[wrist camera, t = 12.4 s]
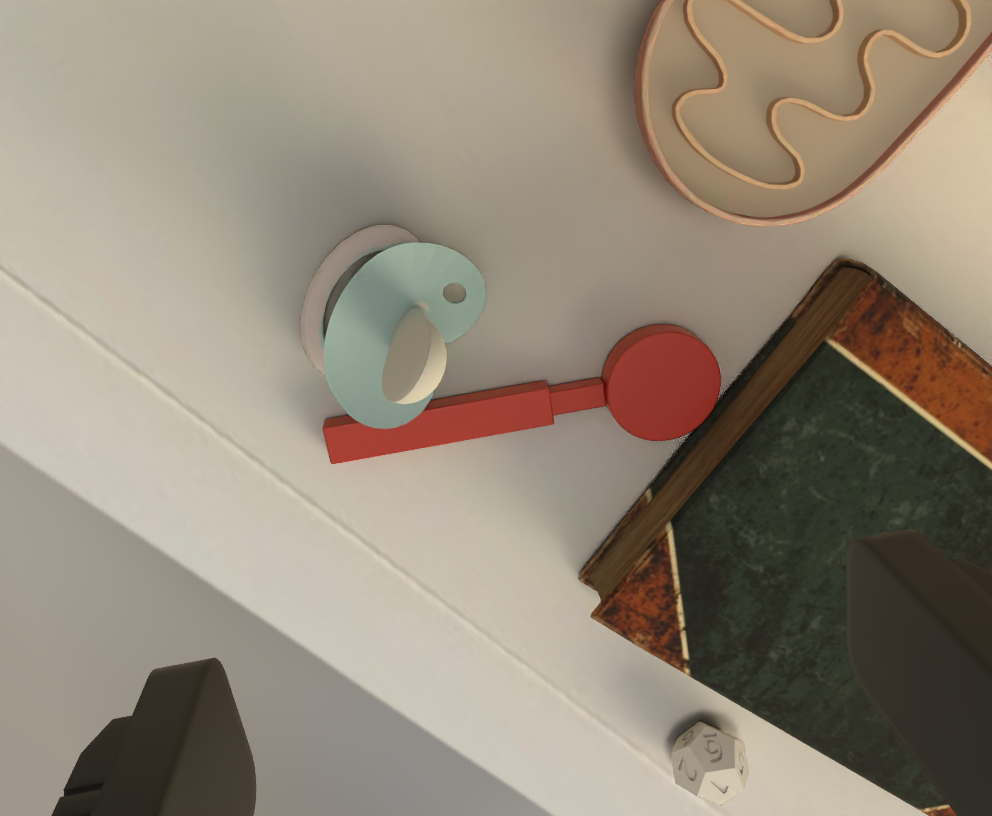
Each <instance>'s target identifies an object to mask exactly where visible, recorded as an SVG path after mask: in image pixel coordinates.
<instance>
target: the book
mask: <svg viewBox="0 0 992 816" xmlns="http://www.w3.org/2000/svg"><path fill="white" fill-rule="evenodd" d="M907 529H914V530H916V531H918V532H919V533H920V534H922V535H923V536H924V537H925V538H926V539H927V540H928V541H930V542H931V543H932V544H933V545H934V546H935V547H936V548H937V549H939V550H940V551H941V552H942V553H943V554H944V555H945V556H946V557H948V558H949V559H950V560H951V561H952V562H956V561H961V560H967V561H970V562H972V563H974V564H976V565H978V566H981V567H983V568H985V569H987V570H990V571H992V366H991V365H990V364H988V363H987V362H986V361H985V360H983V359H982V358H981V357H980V356H979V355H977V354H976V353H975V352H974V351H972V350H971V349H970V348H969V347H968V346H966V345H965V344H964V343H963V342H961V341H960V340H959V339H958V338H957V337H955V336H954V335H953V334H952V333H950V332H949V331H948V330H947V329H945V328H944V327H943V326H942V325H941V324H939V323H938V322H937V321H936V320H934V319H933V318H932V317H931V316H930V315H928V314H927V313H926V312H925V311H923V310H922V309H921V308H920V307H919V306H917V305H916V304H915V303H914V302H913V301H911V300H910V299H909V298H908V297H906V296H905V295H904V294H903V293H902V292H900V291H899V290H898V289H897V288H895V287H894V286H893V285H892V284H891V283H889V282H888V281H887V280H886V279H885V278H883V277H882V276H881V275H880V274H878V273H877V272H876V271H874V270H873V269H871V268H870V267H868V266H867V265H865V264H864V263H862V262H859V261H855V260H852V259H839V260H837V261H835V262H834V263H833V265H832V266H831V267H830V268H829V270H828V271H827V272H826V273H825V274H824V275H823V276H822V277H821V278H820V280H819V281H818V282H817V284H816V285H815V286H814V288H813V289H812V290H811V292H810V293H809V294H808V295H807V297H806V298H805V299H804V301H803V302H802V303H801V305H800V306H799V307H798V308H797V310H796V311H795V312H794V313H793V314H792V316H791V317H790V318H789V319H788V320H787V322H786V323H785V324H784V325H783V326H782V328H781V329H780V330H779V331H778V332H777V334H776V335H775V336H774V337H773V338H772V340H771V341H770V342H769V343H768V344H767V346H766V347H765V348H764V349H763V350H762V352H761V353H760V354H759V355H758V356H757V358H756V359H755V360H754V361H753V362H752V364H751V365H750V366H749V367H748V368H747V370H746V371H745V372H744V373H743V374H742V376H741V377H740V378H739V379H738V380H737V382H736V383H735V384H734V385H733V386H732V387H731V389H730V390H729V391H728V392H727V393H726V395H725V396H724V397H723V398H722V399H721V401H720V402H719V403H718V404H717V405H716V407H715V408H714V409H713V410H712V411H711V413H710V414H709V416H708V417H707V418H706V419H705V420H704V421H703V422H702V423H701V424H700V426H699V427H698V428H697V429H696V430H695V432H694V433H693V434H692V435H691V437H690V438H689V439H688V440H687V442H686V443H685V444H684V445H683V447H682V448H681V449H680V450H679V452H678V453H677V454H676V455H675V456H674V458H673V459H672V460H671V461H670V463H669V464H668V465H667V466H666V468H665V469H664V470H663V471H662V473H661V474H660V475H659V476H658V478H657V479H656V480H655V481H654V483H653V484H652V485H651V486H650V488H649V489H648V490H647V491H646V493H645V494H644V495H643V496H642V498H641V499H640V500H639V501H638V503H637V504H636V505H635V506H634V508H633V509H632V510H631V511H630V513H629V514H628V515H627V516H626V518H625V519H624V520H623V521H622V523H621V524H620V525H619V526H618V528H617V529H616V530H615V531H614V533H613V534H612V535H611V536H610V538H609V539H608V540H607V541H606V543H605V544H604V545H603V546H602V548H601V549H600V550H599V551H598V552H597V554H596V555H595V556H594V557H593V558H592V560H591V561H590V562H589V563H588V565H587V566H586V567H585V568H584V569H583V571H582V572H581V573H580V575H579V578H578V579H579V580H580V581H581V582H582V583H584V584H586V585H587V586H589V587H591V588H592V589H594V590H596V591H598V593H599V596H600V598H601V603H600V604H599V605H598V606H597V607H596V609H595V610H594V611H593V612H592V614H591V618H592V619H594V620H596V621H598V622H599V623H601V624H603V625H604V626H606V627H607V628H609V629H611V630H612V631H614V632H616V633H617V634H619V635H620V636H622V637H624V638H625V639H627V640H629V641H630V642H632V643H633V644H635V645H637V646H638V647H640V648H642V649H644V650H645V651H647V652H649V653H650V654H652V655H654V656H656V657H657V658H659V659H661V660H662V661H664V662H666V663H668V664H669V665H671V666H673V667H674V668H676V669H678V670H680V671H681V672H683V673H685V674H687V675H688V676H690V677H692V678H693V679H695V680H697V681H699V682H700V683H702V684H704V685H705V686H707V687H709V688H711V689H712V690H714V691H716V692H717V693H719V694H721V695H723V696H724V697H726V698H728V699H729V700H731V701H733V702H735V703H736V704H738V705H740V706H741V707H743V708H745V709H747V710H748V711H750V712H752V713H753V714H755V715H757V716H759V717H760V718H762V719H764V720H765V721H767V722H769V723H771V724H772V725H774V726H776V727H777V728H779V729H781V730H783V731H784V732H786V733H788V734H790V735H791V736H793V737H795V738H796V739H798V740H800V741H802V742H803V743H805V744H807V745H808V746H810V747H812V748H814V749H815V750H817V751H819V752H820V753H822V754H824V755H826V756H827V757H829V758H831V759H832V760H834V761H836V762H838V763H839V764H841V765H843V766H845V767H846V768H848V769H850V770H851V771H853V772H855V773H857V774H858V775H860V776H862V777H863V778H865V779H867V780H869V781H870V782H872V783H874V784H875V785H877V786H879V787H881V788H882V789H884V790H886V791H888V792H889V793H891V794H893V795H894V796H896V797H898V798H900V799H901V800H903V801H905V802H906V803H908V804H910V805H912V806H913V807H915V808H917V809H918V810H920V811H922V812H924V813H925V814H927V815H929V816H957V815H956V814H955V813H954V811H953V810H952V809H951V807H950V806H949V805H948V803H947V802H946V801H945V799H944V798H943V797H942V795H941V794H940V793H939V791H938V790H937V789H936V787H935V786H934V785H933V783H932V782H931V780H930V779H929V778H928V776H927V775H926V774H925V772H924V771H923V770H922V768H921V767H920V766H919V764H918V763H917V762H916V760H915V759H914V758H913V756H912V755H911V754H910V752H909V751H908V750H907V748H906V747H905V746H904V744H903V743H902V742H901V740H900V739H899V737H898V736H897V735H896V733H895V732H894V731H893V729H892V728H891V727H890V725H889V724H888V723H887V721H886V720H885V719H884V717H883V716H882V715H881V713H880V712H879V711H878V709H877V708H876V707H875V705H874V704H873V703H872V701H871V700H870V699H869V697H868V696H867V694H866V693H865V692H864V690H863V689H862V687H861V685H860V683H859V681H858V679H857V677H856V675H855V672H854V669H853V666H852V663H851V660H850V656H849V651H848V644H847V549H848V546H849V544H850V542H851V541H852V540H854V539H859V538H865V537H870V536H875V535H881V534H886V533H891V532H897V531H902V530H907Z"/></svg>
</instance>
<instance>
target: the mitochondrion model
mask: <svg viewBox="0 0 992 816" xmlns="http://www.w3.org/2000/svg"><path fill="white" fill-rule="evenodd" d="M991 51H992V0H661V1H660V3H659V4H658V6H657V7H656V8H655V10H654V11H653V14H652V16H651V18H650V21H649V23H648V25H647V28H646V31H645V34H644V37H643V40H642V43H641V46H640V49H639V52H638V58H637V65H636V71H635V104H636V111H637V118H638V123H639V126H640V129H641V132H642V136H643V139H644V142H645V144H646V146H647V149H648V151H649V153H650V155H651V157H652V159H653V161H654V163H655V164H656V166H657V167H658V169H659V170H660V171H661V173H662V174H663V176H664V177H665V179H666V180H667V181H668V182H669V183H670V184H671V185H672V186H673V187H674V188H675V189H676V190H677V191H678V192H679V193H680V194H681V195H682V196H684V197H685V198H686V199H688V200H689V201H690V202H692V203H693V204H695V205H696V206H698V207H700V208H701V209H703V210H705V211H707V212H709V213H711V214H714V215H716V216H719V217H721V218H724V219H726V220H729V221H731V222H734V223H740V224H745V225H751V226H777V225H786V224H795V223H798V222H802V221H805V220H808V219H811V218H814V217H816V216H818V215H821V214H823V213H825V212H827V211H829V210H831V209H834V208H836V207H838V206H839V205H841V204H842V203H844V202H845V201H846V200H848V199H849V198H851V197H852V196H854V195H855V194H857V193H858V192H859V191H861V190H862V189H863V188H864V187H865V186H866V185H867V184H868V183H869V182H870V181H871V180H872V179H874V178H875V177H876V176H877V175H878V174H879V173H880V172H881V171H882V170H883V169H884V168H885V167H887V166H888V165H889V164H890V163H891V162H892V160H893V159H894V158H895V157H896V156H897V155H898V154H899V153H900V152H901V151H902V150H903V149H904V148H905V146H906V145H907V144H908V143H909V142H910V141H911V140H912V139H913V138H914V137H915V136H916V135H917V134H918V133H919V131H920V130H921V129H922V128H923V127H924V126H925V125H926V124H927V123H928V122H929V121H930V120H931V119H932V117H933V116H934V115H935V114H936V113H937V112H938V111H939V110H940V109H941V108H942V107H943V106H944V105H945V103H946V102H947V101H948V100H949V99H950V98H951V97H952V96H953V95H954V94H955V93H956V92H957V91H958V89H959V88H960V87H961V86H962V85H963V84H964V83H965V82H966V81H967V79H968V78H969V77H970V76H971V75H972V73H973V72H974V71H975V70H976V69H977V68H978V66H979V65H980V64H981V63H982V62H983V60H984V59H985V58H986V57H987V56H988V54H989V53H990V52H991Z"/></svg>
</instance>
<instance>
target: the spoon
mask: <svg viewBox="0 0 992 816" xmlns="http://www.w3.org/2000/svg"><path fill="white" fill-rule="evenodd" d="M720 385H721V376H720V369H719V366H718V363H717V360H716V358H715V356H714V355H713V353H712V352H711V350H710V349H709V348H708V347H707V346H706V345H705V344H704V343H703V342H702V341H701V340H700V339H698V338H697V337H696V336H695V335H694V334H692V333H691V332H689V331H688V330H686V329H683V328H681V327H678V326H674V325H668V324H658V325H651V326H647V327H643V328H641V329H638V330H636V331H634V332H632V333H630V334H629V335H628V336H626V337H625V338H624V339H622V340H621V341H620V342H619V343H618V344H617V345H616V346H615V348H614V349H613V350H612V352H611V353H610V355H609V357H608V359H607V360H606V363H605V366H604V369H603V373H602V380H601V379H600V378H594V379H588V380H583V381H577V382H572V383H566V384H560V385H555V386H549V387H548V385H547V383H546V381H538V382H532V383H527V384H521V385H516V386H510V387H504V388H499V389H493V390H488V391H482V392H476V393H471V394H465V395H460V396H454V397H448V398H443V399H437V400H432V401H429V403H428V404H427V406H426V407H425V409H424V410H423V411H422V412H421V413H420V414H419V415H418V416H417V417H415V418H414V419H413V420H411V421H410V422H408V423H407V424H404V425H401V426H399V427H396V428H389V429H381V428H373V427H369V426H366V425H364V424H362V423H360V422H358V421H356V420H355V419H354V418H352V417H351V416H350V415H348V416H342V417H337V418H331V419H326V420H325V421H324V425H323V433H324V437H325V441H326V446H327V450H328V454H329V458H330V462H331V464H336V463H342V462H347V461H353V460H359V459H364V458H370V457H375V456H381V455H386V454H392V453H397V452H403V451H408V450H414V449H419V448H425V447H431V446H436V445H442V444H447V443H453V442H458V441H464V440H469V439H475V438H480V437H486V436H491V435H497V434H502V433H508V432H514V431H519V430H525V429H530V428H536V427H541V426H547V425H552V424H554V418H553V415H558V414H564V413H569V412H575V411H580V410H586V409H592V408H597V407H603V406H606V405H607V407H608V409H609V410H610V412H611V413H612V415H613V417H614V418H615V420H616V421H617V422H618V424H619V425H620V426H621V427H622V428H623V429H625V430H626V431H627V432H629V433H630V434H632V435H634V436H636V437H639V438H642V439H646V440H652V441H665V440H671V439H675V438H678V437H681V436H683V435H685V434H687V433H689V432H691V431H692V430H694V429H695V428H697V427H698V426H699V425H700V424H701V423H702V422H703V421H704V420H705V419H706V418H707V417H708V416H709V414H710V413H711V411H712V410H713V408H714V406H715V404H716V401H717V399H718V396H719V392H720Z"/></svg>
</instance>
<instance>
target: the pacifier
mask: <svg viewBox="0 0 992 816" xmlns="http://www.w3.org/2000/svg"><path fill="white" fill-rule="evenodd" d="M382 250H384V251H382ZM375 251H382V252H381V253H379V254H377V255H376V256H374V257H373V258H372V259H371V260H369V261H368V262H367V263H366V264H365V265H364V266H363V267H362V268H361V269H360V270H359V271H358V272H357V273H356V274H355V275H354V276H353V277H352V279H351V280H350V281H349V283H348V284H347V286H346V287H345V289H344V290H343V292H342V294H341V295H340V297H339V299H338V301H337V303H336V306H335V308H334V310H333V313H332V315H331V318H330V320H329V324H328V328H327V332H326V336H325V332H324V314H325V309H326V305H327V301H328V298H329V296H330V294H331V291H332V289H333V288H334V286H335V284H336V283H337V281H338V280H339V278H340V277H341V275H342V274H343V273H344V272H345V271H346V270H347V269H348V268H349V267H350V266H351V265H352V264H353V263H354V262H356V261H357V260H359V259H360V258H362V257H363V256H365V255H367V254H370V253H372V252H375ZM450 283H458V284H461V285H462V286H463V287H464V288H465V290H466V295H465V297H464V298H463V299H462V300H461V301H459V302H451V301H448V300H447V299H446V298H445V297H444V295H443V290H444V288H445V286H446V285H448V284H450ZM485 301H486V287H485V283H484V280H483V277H482V276H481V274H480V272H479V270H478V269H477V267H476V266H475V265H474V264H473V263H472V262H471V261H470V260H469V259H468V258H467V257H465V256H464V255H463V254H461V253H459V252H458V251H456V250H454V249H452V248H449V247H446V246H443V245H440V244H434V243H428V242H419V240H418V239H417V238H416V237H414V236H413V235H412V234H411V233H410V232H409V231H407V230H406V229H403V228H400V227H397V226H394V225H374V226H371V227H369V228H366V229H363V230H360V231H357V232H356V233H354V234H353V235H351V236H350V237H348V238H347V239H345V240H344V241H342V242H341V243H340V244H339V245H338V246H337V247H336V248H335V249H334V250H333V251H332V252H331V253H330V254H329V255H328V256H327V257H326V258H325V260H324V261H323V263H322V264H321V266H320V267H319V269H318V270H317V272H316V273H315V275H314V277H313V279H312V281H311V283H310V286H309V288H308V291H307V293H306V296H305V299H304V304H303V309H302V314H301V339H302V343H303V346H304V350H305V354H306V355H307V357H308V359H309V360H310V362H311V363H312V365H313V366H314V368H316V369H317V370H318V371H320V372H321V373H322V374H324V375H325V376H326V379H327V384H328V386H329V388H330V390H331V392H332V394H333V395H334V397H335V398H336V400H337V401H338V403H339V405H340V406H341V407H342V408H343V409H344V410H345V411H346V413H347V414H349V415H350V416H351V417H352V418H354V419H355V420H356V421H358V422H360V423H362V424H364V425H366V426H369V427H373V428H381V429H389V428H396V427H399V426H401V425H404V424H407V423H408V422H410V421H411V420H413V419H414V418H415V417H417V416H418V415H419V414H420V413H421V412H422V411H423V410H424V409H425V407H426V406H427V404H428V403H429V401H430V400H431V398H432V396H433V394H434V391H435V389H436V387H437V386H438V384H439V383H440V381H441V379H442V377H443V374H444V371H445V367H446V361H447V353H446V346H445V344H447V343H450V342H452V341H454V340H456V339H457V338H459V337H460V336H462V335H463V334H465V333H466V332H467V331H468V330H469V329H470V328H471V327H472V326H473V325H474V324H475V323H476V321H477V320H478V319H479V317H480V315H481V313H482V311H483V309H484V305H485Z"/></svg>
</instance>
